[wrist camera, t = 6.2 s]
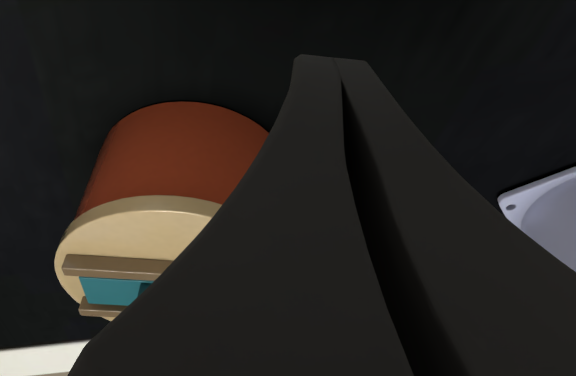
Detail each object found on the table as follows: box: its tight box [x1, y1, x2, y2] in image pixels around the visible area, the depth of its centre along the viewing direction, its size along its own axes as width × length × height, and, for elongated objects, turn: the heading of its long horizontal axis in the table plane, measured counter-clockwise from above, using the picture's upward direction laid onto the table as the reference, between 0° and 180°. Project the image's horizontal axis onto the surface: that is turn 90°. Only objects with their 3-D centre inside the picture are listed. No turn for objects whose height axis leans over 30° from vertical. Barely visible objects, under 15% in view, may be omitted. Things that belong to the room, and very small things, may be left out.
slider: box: [79, 276, 154, 306], centre depth 20 cm, size 3×2×2 cm
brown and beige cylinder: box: [54, 101, 269, 321], centre depth 23 cm, size 10×10×8 cm
